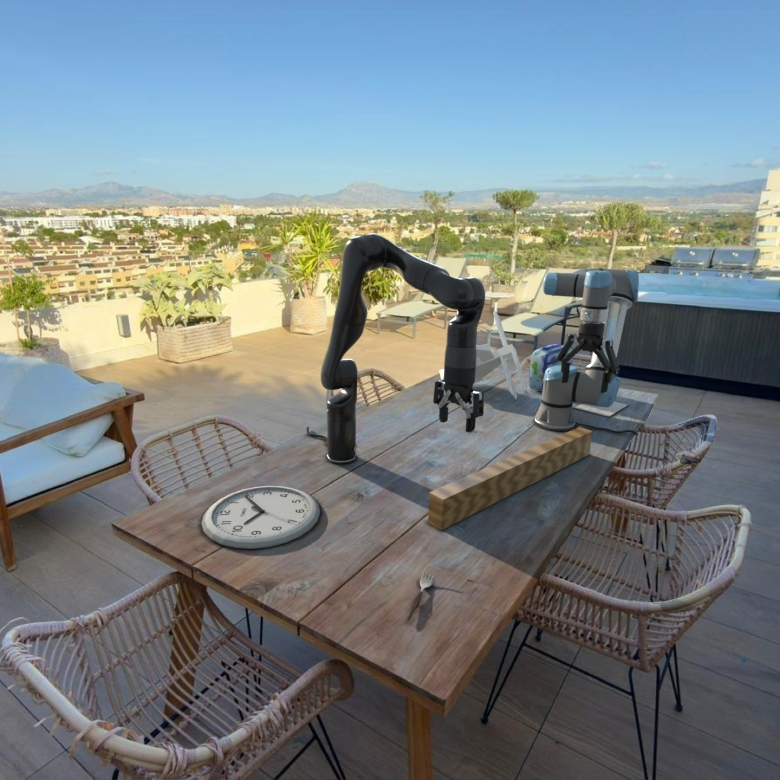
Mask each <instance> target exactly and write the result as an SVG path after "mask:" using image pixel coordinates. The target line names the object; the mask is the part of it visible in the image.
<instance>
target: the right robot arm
mask: <svg viewBox="0 0 780 780" xmlns="http://www.w3.org/2000/svg"><path fill="white" fill-rule="evenodd" d="M542 283H543V284H542V292H543V293H544V295H546V296H552V297H568V298H569V297H571V298H582V300H581V301H582V303H581V309H580V315H579V319H580V322H579V324H578V330H577V331H578V333H577V334H576V333H569V334H568V336H567V340H566V342H565V344H563V345H564V347H563V348H562V350H561V352H560V353H559V355H558V356H557V360H560V361H561V362H562V365H560V366H553V367H549V368H548V369H546V371H545V375H544V379H543V381H544V382H543V391H541V393H542V394H541V402H540V405H539V407H538V408H537V407H536V408H534V413H535V416H534V424H535V425H536V426H537V427H539V428H542V429H544V430H549V431H556V432H569V431H571V430H574V429H576V426H579V427H584V428H588V429H593V430H599V431H607V432H609V433H614V434H624V433H631V434H634V435H635V436H639V433H637V432H636V431H634V430H632V429H625V430H613V429H610V428H607V427H598V426H593V425H589V424H585V423H580V422H576V418H575V417H576V416H575V413H574V407H573V405H574V403H577V404H587V405H593V406H597V407H610V406H611V405H612V404H613V403H614V402H616V401H615V400H616V399H617V396H618V394H619V389H620V385H621V377H619V376H618V373H619V372H620V370H621V369H620V366H619V363H618V359H617V357H618V352H619V347H620V343H621V339H622V334H623V330H624V325H625V320H626V315H627V312H628V311H627V310H629V309H631V308H632V306H633V303H636V302H638V300H639V288H640V287H639V286H640V274H639V272H638V271H637V270H635V269H634V270H633V269H627V268H625V269H617V268H601V267H599V268H598V267H595V268H594V267H593V268H586V269H579V270H576V271H574V272H556V271H555V272H547V273H546V274H545V275H544V278H543V281H542ZM575 342H577V345H576V346H574V348H573V350H572V351H571V352H570V353H569V354H568V355H567V356H565V355H566V354H567V352H568V351H569V349H570V348H571V347H573V345H574V343H575ZM581 351H583V352H589V353H592V354H591V358H590V363H589V364H588V365H586V366H585V367H584V370H583V371H578V367H577V366H573V365H572V366H570V363H567V362H569V360H570V359H571V358H574V356H576V355H578V354H579V353H580V352H581Z"/></svg>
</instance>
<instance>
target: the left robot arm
mask: <svg viewBox="0 0 780 780" xmlns="http://www.w3.org/2000/svg"><path fill="white" fill-rule="evenodd" d="M344 245H345V246H344V249H343V253H342V262H341V272H340V273H341V274H340V284H339V290H338V296H337V301H336V306H335V310H334V315H333V320H332V326H331V330H330V331H331V332H330V336H329V340H328V345H327V349H326V352H325V354H324V358H323V361H322V364H321V368H320V369H321V370H320V382H321V385H322V387H323V389H325V390H328V391H337V390H339V391H338V392H337V393H336V394H335V395H333V396H331V397H329V398H328V399H327V401H326V429H327V430H326V431H327V436H325V435H323V434H314V433H311V432H310V426H306V434H307V435H308V436H310V437H314V438H315V437H316V438H321V439H323V440H325V445H326V447H327V455H326V456H327V460H328V461H329V462H330V463H333V464H339V465H340V464H341V465H342V464H343V465H345V464H349V463H351V462H354V461H356V459H357V448H358V444H357V410H356V409H357V402H358V386H359V385H358V384H359V371H358V370H359V369H358V366H357V363H356V362H355V360H353V359H352V358H344V357H345V355H346V353H348V352H349V350H350V349H351V348H353V346H354V345H355V344H356V343H357V342H358V341H359V340H360V338H361V337H362V336H363V334H364V331H365V327H366V324H367V319H368V313H369V312H368V305H367V304H366V301H365V299H364V296H363V293H362V288H363V284H364V279H365V276H366V274H367V273H368V272H369V273H370V272H372V271H375V270H379V269H387V270H391V271H393V272H395V273H398V274H399V275H400V276H401V278H402V280H403V281H404V282H405V283H406V284H407V285H408V286H409V287H411V288H412V289H415V290H417V291H418V292H422V293H423V294H426V295H428V296H430V297H432V298H433V299H435V301H437V302H438V303H440V305H442V306H443V307H445V308H448V309H450V310H454V311H456V314H455V316H454V317H453V318H452V319H451V320H450V321H448V323H447V328H446V343H445V350H444V361H443V369H444V380H441V379H440V380H436V381H434V389H433V399H432V400H433V401H432V402H433V404H434V405H437V406H438V409H439V413H438V418H439V422H440V423H442V424H443V423H446V422H448V421H449V405H450V404H455V405H457V406H460V408H461V410H462V411H464V413H465V415H466V420H465V432H466V433H472V432H474V431H475V429H476V419H478V418H480V417H483V416H484V414H485V413H484V411H485V409H484V408H485V393H484V391H475V390H474V384H475V383H474V382H475V372H476V357H477V353H476V346H477V339H478V326H479V324H480V320H481V318H482V314H483V310H484V306H485V303H486V302H485V301H486V289H485V286H484V284H483V282H482V281H481V280H480V279H479V278H477V277H473V276H470V277H460V278H458V277H455V276H451V275H450V273H449V271H447V270H446V269H445V268H443V267H441V266H438V265H436V264H433V263H431V262H429V261H426V260H424V259H421V258H419V257H417V256H415V255H413V254H411V253H409V252H407V251H406V250H404V249H403V248H401V247H399V246H398V245H397V244H395V243H393V242H392V241H391V240H389V239H387V238H386V237H384V236H382V235H380V234H378V233H367V234H363V235H362V234H361V235H358V236H353V237H351V238H350V239H349V240H348V241H347V242H346V244H344Z"/></svg>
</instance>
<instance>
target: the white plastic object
mask: <svg viewBox="0 0 780 780" xmlns="http://www.w3.org/2000/svg"><path fill="white" fill-rule="evenodd" d="M492 315H493V319H494V321H495V324H496V325H495V326H496V328H497V332H498V335H499V338H500V342H501V345H502V347H500V348H498V349H496V350H495V349H493V348H492V347H491V346H490V344H489V343H488V342H487V343H483V344H479V345H476V353H477V357H476V372H475V382H474V384H477V383H480V382H482V381H484V378H485V377H486V376H487V375H489V374H490V373H492V372H494V371H495V370H496V369H497V368H499V367H500V366H502V370H503V373H504V376H505V380H506V383H507V386H508V390H509V393H510V394H511V395H512V397H513V398H514V399H515V400H517V392H516V391H517V390H516V388H515V385H514V381H513V378H512V375H511V371H510V369H509V365H508V361H510V360H513V363H514V366H515V369H516V372H517V376H518V380H519V382H520V385H521V389H522V391H523V393H524V395H525V396H526V397H528V396H531V395H530V390H529V388H528V387H529V386H528V384H527V381H526V378H525V375H524V371H523V369H522V368H523V367H522V366H521V362H520V359H519V355H518V352H517V349H516V347H515V346H514V345H513V343H511V344H508V341H507V337H506V334H505V331H504V328H503V325H502V321H501V318H500V315H499V314H498V312H497V311H496V310H495V311H492ZM438 372H439V376H440V380H444V368H442V369H440V370H439V371H438Z"/></svg>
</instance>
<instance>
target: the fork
mask: <svg viewBox="0 0 780 780" xmlns="http://www.w3.org/2000/svg"><path fill="white" fill-rule="evenodd" d="M426 567H427V565H425V567H424V570H423V573H422V575H421V578H420V580H419V586H420V588H421V589H420V590H419V592H418V594H417V595H416V596H415V598H414V599H413V602H412V604H411V608H410V611H409V614H408V617H407V620H406V621H407V622H409V621H410V619H411V618H412V616H413V614H414V613H415V612H416V610H417V608H418V606H419V604H420V603H421V598H422V595H423V593H424V590H425V589H429V588H430V587H431V586H432V584H433V581H434V577H435V571H436V568H434V570H433V567H431V568H430V566H428V567H427V570H426ZM429 568H430V569H429ZM429 570H430V571H429ZM432 571H433V573H432ZM425 572H426V573H425ZM428 574H429V575H428Z"/></svg>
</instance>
